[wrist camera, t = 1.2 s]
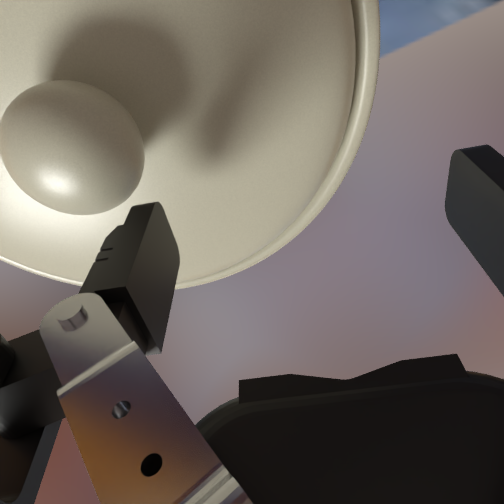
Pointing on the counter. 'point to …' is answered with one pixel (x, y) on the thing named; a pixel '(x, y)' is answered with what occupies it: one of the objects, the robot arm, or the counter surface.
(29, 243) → the canister
